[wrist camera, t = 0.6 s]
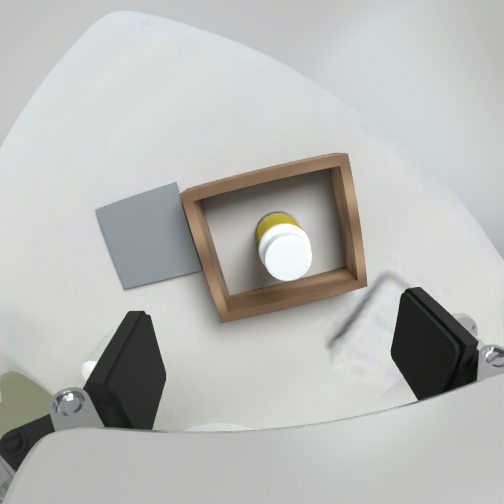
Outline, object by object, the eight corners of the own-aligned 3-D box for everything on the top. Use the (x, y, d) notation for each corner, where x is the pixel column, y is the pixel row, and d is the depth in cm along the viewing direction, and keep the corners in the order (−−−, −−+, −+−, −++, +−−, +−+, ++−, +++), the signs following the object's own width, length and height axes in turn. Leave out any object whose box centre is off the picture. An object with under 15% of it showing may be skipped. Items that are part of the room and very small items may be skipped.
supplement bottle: (247, 224, 32) (248, 249, 24) (285, 202, 32) (299, 219, 24) (269, 260, 34) (278, 295, 26) (306, 239, 33) (326, 267, 25)
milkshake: (142, 354, 38) (121, 406, 28) (107, 350, 37) (80, 397, 28) (137, 326, 36) (112, 377, 27) (101, 323, 36) (69, 368, 26)
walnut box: (355, 272, 34) (367, 286, 31) (223, 305, 35) (221, 323, 32) (335, 152, 30) (347, 153, 26) (187, 188, 31) (180, 193, 27)
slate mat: (202, 268, 34) (202, 270, 33) (125, 287, 34) (124, 289, 34) (176, 182, 31) (175, 182, 30) (97, 208, 31) (95, 209, 31)
